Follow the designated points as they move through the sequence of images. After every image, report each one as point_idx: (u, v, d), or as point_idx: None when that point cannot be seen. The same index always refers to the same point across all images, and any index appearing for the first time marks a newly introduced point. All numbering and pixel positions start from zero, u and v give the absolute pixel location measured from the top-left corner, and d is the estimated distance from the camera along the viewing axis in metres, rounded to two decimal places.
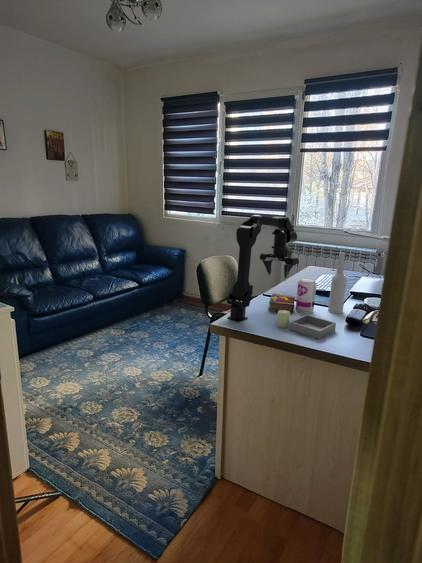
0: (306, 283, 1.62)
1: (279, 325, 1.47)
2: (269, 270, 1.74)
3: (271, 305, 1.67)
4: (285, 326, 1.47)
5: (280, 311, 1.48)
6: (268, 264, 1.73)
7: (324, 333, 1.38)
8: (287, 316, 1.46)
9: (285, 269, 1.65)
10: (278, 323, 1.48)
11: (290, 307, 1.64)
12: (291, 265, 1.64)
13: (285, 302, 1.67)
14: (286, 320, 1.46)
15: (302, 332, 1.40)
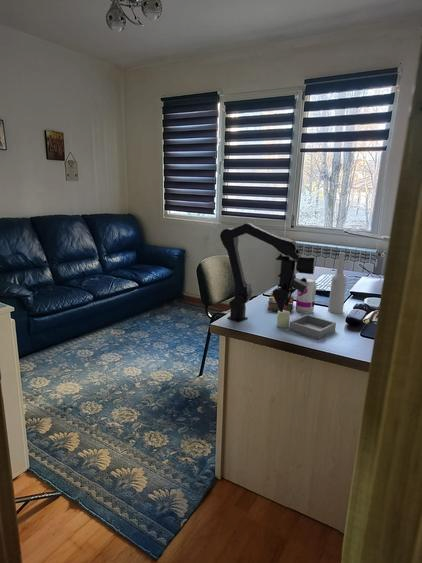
0: None
1: (279, 325, 1.47)
2: (286, 300, 1.51)
3: (270, 305, 1.68)
4: (285, 326, 1.47)
5: None
6: None
7: (324, 333, 1.38)
8: (287, 316, 1.46)
9: None
10: (278, 323, 1.48)
11: (289, 307, 1.65)
12: (277, 297, 1.39)
13: None
14: (286, 320, 1.46)
15: (302, 332, 1.40)
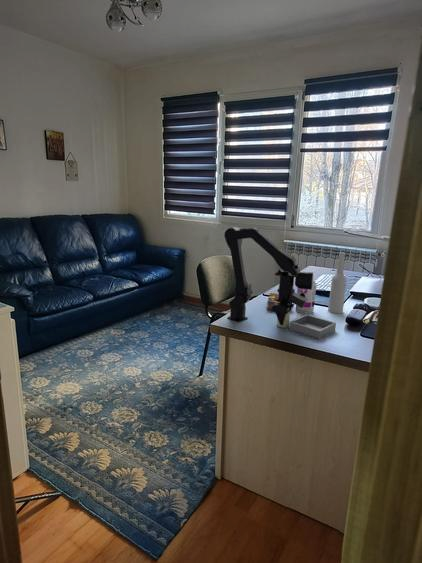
0: None
1: (279, 325, 1.47)
2: None
3: (269, 304, 1.68)
4: (285, 326, 1.47)
5: None
6: None
7: (324, 333, 1.38)
8: (287, 316, 1.46)
9: None
10: (278, 323, 1.48)
11: None
12: None
13: None
14: (286, 320, 1.46)
15: (302, 332, 1.40)
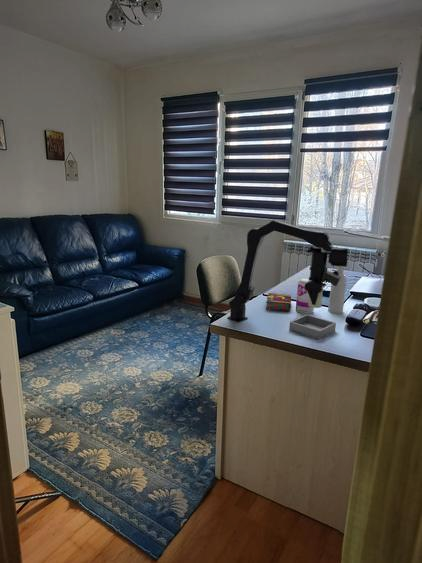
0: None
1: (311, 305, 1.40)
2: None
3: (268, 304, 1.69)
4: (318, 306, 1.40)
5: None
6: None
7: (324, 333, 1.38)
8: (320, 295, 1.39)
9: None
10: (310, 303, 1.41)
11: (287, 306, 1.66)
12: None
13: (282, 301, 1.69)
14: (319, 299, 1.39)
15: (302, 332, 1.40)
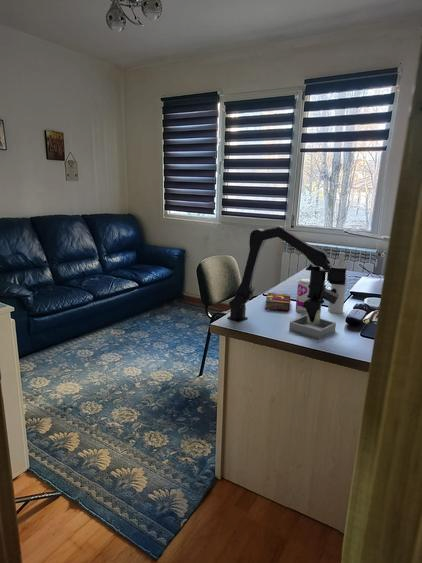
0: (306, 283, 1.62)
1: (309, 322, 1.42)
2: None
3: (267, 304, 1.69)
4: (316, 323, 1.41)
5: None
6: None
7: (324, 333, 1.38)
8: (318, 312, 1.41)
9: None
10: (308, 320, 1.42)
11: (286, 305, 1.67)
12: None
13: (281, 300, 1.69)
14: (317, 317, 1.41)
15: (302, 332, 1.40)
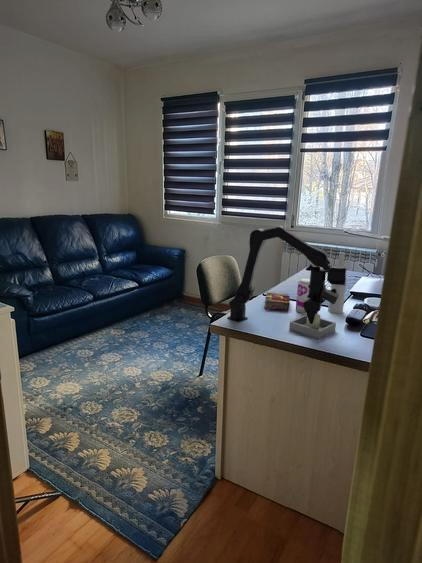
0: (306, 283, 1.62)
1: None
2: None
3: (267, 303, 1.69)
4: None
5: None
6: None
7: (324, 333, 1.38)
8: (317, 319, 1.41)
9: None
10: (308, 326, 1.43)
11: (286, 305, 1.67)
12: (307, 308, 1.35)
13: (281, 300, 1.70)
14: (316, 323, 1.41)
15: (302, 332, 1.40)
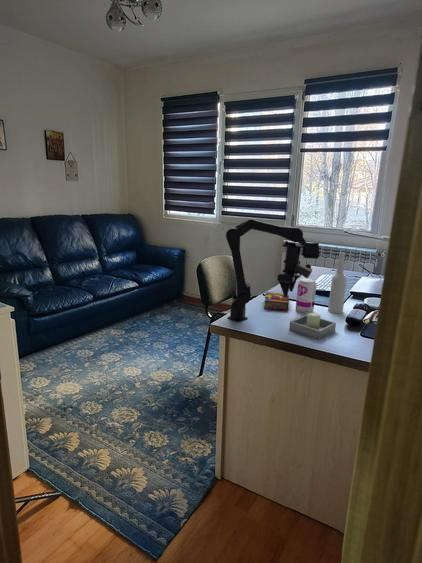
0: (306, 283, 1.62)
1: None
2: (290, 286, 1.56)
3: (266, 303, 1.70)
4: None
5: (310, 314, 1.44)
6: None
7: (324, 333, 1.38)
8: (317, 319, 1.41)
9: None
10: (308, 326, 1.43)
11: (285, 305, 1.67)
12: (281, 281, 1.44)
13: (280, 300, 1.70)
14: (316, 323, 1.41)
15: (302, 332, 1.40)
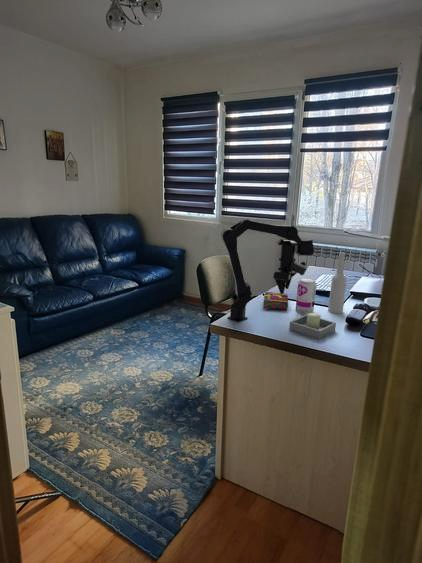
0: (306, 283, 1.62)
1: None
2: (286, 284, 1.58)
3: (265, 303, 1.70)
4: None
5: (310, 314, 1.44)
6: None
7: (324, 333, 1.38)
8: (317, 319, 1.41)
9: None
10: (308, 326, 1.43)
11: (284, 304, 1.68)
12: (278, 279, 1.46)
13: (279, 300, 1.71)
14: (316, 323, 1.41)
15: (302, 332, 1.40)
